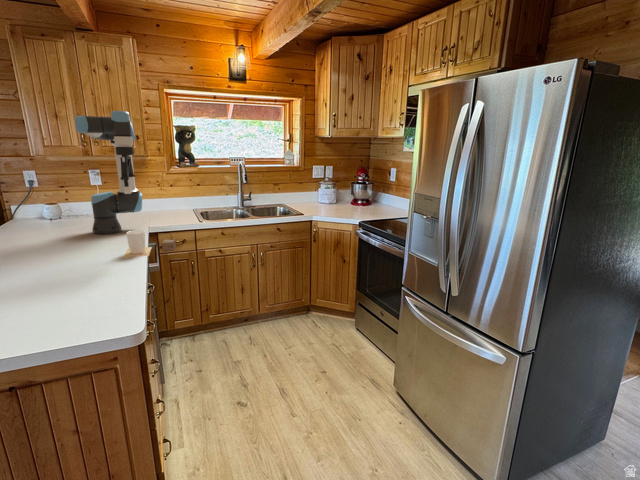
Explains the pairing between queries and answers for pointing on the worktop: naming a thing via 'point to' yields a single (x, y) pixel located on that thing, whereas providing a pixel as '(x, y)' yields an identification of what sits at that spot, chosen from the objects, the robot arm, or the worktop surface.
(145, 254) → the envelope
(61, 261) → the worktop surface
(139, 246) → the white cup
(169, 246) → the walnut block
